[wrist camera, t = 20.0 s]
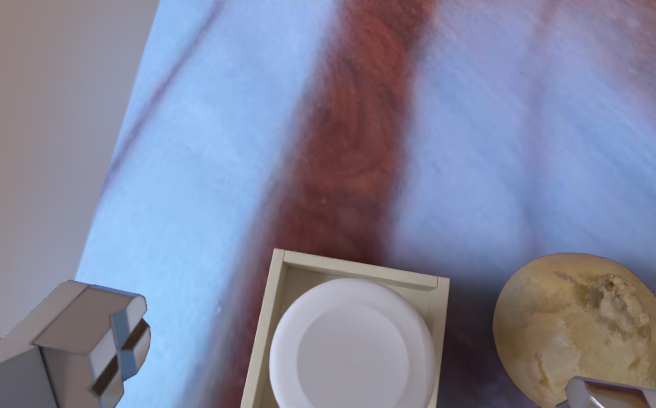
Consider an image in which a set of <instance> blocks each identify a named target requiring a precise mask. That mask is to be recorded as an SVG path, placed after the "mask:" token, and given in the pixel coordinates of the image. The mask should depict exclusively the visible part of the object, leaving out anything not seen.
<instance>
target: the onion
mask: <svg viewBox="0 0 656 408" xmlns="http://www.w3.org/2000/svg"><path fill="white" fill-rule="evenodd" d="M492 328H493V336H494V341H495V344H496V348H497V352H498V355H499V357H500V359H501V362H502V364H503V366H504V368H505V370H506V372H507V373H508V375H509V376H510V378H511V379H512V381H513V382H514V383H515V384H516V386H517V387H518V388H519V389H520V390H521V391H522V392H523V393H524V394H525V395H526V396H527V397H528V398H529V399H530V400H531V401H533V402H534V403H535V404H537V405H538V406H540V407H541V408H555V406H556V405H557V404H559V403H561V402H563V401H565V400H567V396H566V393H565V390H564V389H565V387H566V385H567V383H568V382H569V380H570V379H571V378H573V377H574V376H581V377H586V378H592V379H598V380H603V381H609V382H615V383H620V384H626V385H631V386H637V387H643V388H648V389H654V390H656V296H655V295H654V294H653V293H652V292H651V291H650V289H649V288H648V287H647V286H646V285H645V284H644V283H643V282H642V281H641V280H640V279H639V278H638V277H637V276H636V275H635V274H634V273H633V272H631V271H630V270H629V269H628V268H626V267H625V266H623V265H621V264H619V263H617V262H615V261H613V260H610V259H607V258H604V257H599V256H594V255H590V254H584V253H556V254H551V255H546V256H543V257H540V258H538V259H535V260H533V261H531V262H529V263H527V264H526V265H524V266H523V267H521V268H520V269H519V270H518V271H516V272H515V273H514V274H513V275H512V276H511V277H510V279H509V280H508V281H507V283H506V284H505V285H504V287H503V289H502V291H501V293H500V295H499V298H498V300H497V304H496V308H495V311H494V318H493V327H492ZM597 365H598V366H597Z"/></svg>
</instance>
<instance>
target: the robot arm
mask: <svg viewBox="0 0 656 408" xmlns="http://www.w3.org/2000/svg"><path fill="white" fill-rule="evenodd" d="M146 311H147V304H146V299H145V297H144V296H142V295H140V294H136V293H131V292H127V291H122V290H117V289H113V288H108V287H103V286H99V285H94V284H93V285H92V284H87V283H82V282H78V281H73V280H68V281H66V282H63V283H61V284H60V285H59V286H58V287H57V288H56V289H55V290H53V291H52V292H51V293H50V294H49V295H48V296H47V297H46V298H45V299H44V300H43V301H42V302H41V303H40V304H39V305H38V306H37V307H36V308H34V309H33V310H32V311H31V312H30V313H29V314H28V315H27V316H26V317H25V318H24V319H23V320H22V321H21V322H20V323H19V324H18V325H17V326H16V327H15V328H13V329H12V330H11V331H10V332H9V333H8V334H7V335H6V336H5V337H4V338H3V339H1V338H0V408H115V407H116V405H117V404H118V402H119V401H120V399H121V398H122V396H123V395H124V385H123V382H124V381H125V380H127V379H129V378H130V377H132V376H134V375H136V374H137V373H138V371H139V370H140V368H141V366H142V365H143V363H144V361H145V359H146V356H147V353H148V350H149V347H150V339H151V333H150V326H149V325H148V324H147V323H146V322H145V320H144V319H143V318H142V317H143V315H144V314H145V313H146ZM564 390H565V393H566V396H567V400H565V401H563V402H561V403H559V404H557V405H556V406H555V408H656V390H654V389H648V388H643V387H637V386H631V385H626V384H620V383H615V382H609V381H603V380H598V379H592V378H586V377H581V376H574V377H573V378H571V379H570V380H569V382H568V383H567V385H566V387H565V389H564Z"/></svg>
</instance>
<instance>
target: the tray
mask: <svg viewBox="0 0 656 408" xmlns="http://www.w3.org/2000/svg"><path fill="white" fill-rule="evenodd" d="M342 278H362V279H367V280H372V281H375V282H378V283H381V284H383V285H386V286H388V287H390V288H392V289H393V290H395V291H396V292H398V293H399V294H400V295H402V296H403V297H404V298H405V299H407V300H408V301H409V302H410V303H411V304H412V305H413V307H414V308H415V309H416V310H417V311H418V313H419V314H420V316H421V317H422V319H423V320H424V322H425V324H426V326H427V328H428V330H429V332H430V335H431V337H432V341H433V344H434V349H435V355H436V381H435V386H434V391H433V394H432V397H431V400H430V402H429V405H428V407H427V408H436V405H437V396H438V387H439V378H440V369H441V360H442V350H443V341H444V332H445V323H446V314H447V305H448V296H449V287H450V278H445V277H437V276H433V275H427V274H421V273H416V272H410V271H404V270H398V269H392V268H387V267H381V266H375V265H369V264H363V263H358V262H352V261H346V260H340V259H334V258H329V257H323V256H317V255H311V254H305V253H300V252H294V251H288V250H286V251H285V250H282V249H277V248H275V249H274V252H273V257H272V262H271V266H270V271H269V276H268V281H267V285H266V290H265V295H264V299H263V304H262V309H261V313H260V318H259V323H258V328H257V332H256V337H255V342H254V346H253V351H252V356H251V360H250V365H249V370H248V375H247V379H246V384H245V389H244V393H243V398H242V403H241V407H240V408H280V407H279V405H278V402H277V400H276V398H275V395H274V392H273V389H272V385H271V380H270V369H269V359H270V350H271V345H272V341H273V337H274V334H275V331H276V329H277V327H278V325H279V322H280V320H281V319H282V317H283V315H284V314H285V312H286V311H287V310H288V309H289V307H290V306H291V305H292V304H293V303H294V302H295V301H296V300H297V299H298V298H299V297H301V296H302V295H303V294H304V293H306V292H307V291H309V290H310V289H312V288H314V287H316V286H318V285H320V284H322V283H325V282H328V281H331V280H335V279H342Z"/></svg>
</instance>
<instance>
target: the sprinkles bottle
mask: <svg viewBox="0 0 656 408" xmlns="http://www.w3.org/2000/svg"><path fill="white" fill-rule="evenodd" d="M269 369H270V380H271V385H272V389H273V392H274V395H275V398H276V400H277V402H278V405H279V407H280V408H427V407H428V405H429V402H430V400H431V397H432V394H433V391H434V386H435V381H436V355H435V349H434V344H433V341H432V337H431V335H430V332H429V330H428V328H427V326H426V324H425V322H424V320H423V319H422V317H421V316H420V314H419V313H418V311H417V310H416V309H415V308H414V307H413V305H412V304H411V303H410V302H409V301H408V300H407V299H405V298H404V297H403V296H402V295H400V294H399V293H398V292H396V291H395V290H393V289H392V288H390V287H388V286H386V285H383V284H381V283H378V282H375V281H372V280H367V279H362V278H342V279H335V280H331V281H328V282H325V283H322V284H320V285H318V286H316V287H314V288H312V289H310V290H309V291H307V292H306V293H304V294H303V295H302V296H301V297H299V298H298V299H297V300H296V301H295V302H294V303H293V304H292V305H291V306H290V307H289V309H288V310H287V311H286V312H285V314H284V315H283V317H282V319H281V320H280V322H279V325H278V327H277V329H276V331H275V334H274V337H273V341H272V345H271V350H270V359H269Z"/></svg>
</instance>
